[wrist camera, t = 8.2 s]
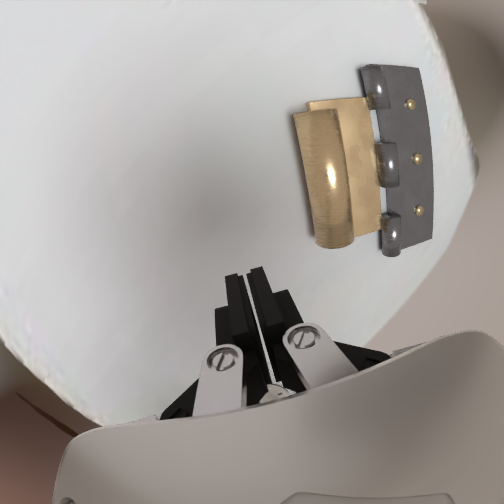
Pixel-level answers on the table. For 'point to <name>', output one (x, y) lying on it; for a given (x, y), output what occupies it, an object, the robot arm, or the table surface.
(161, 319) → the table surface
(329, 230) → the bronze hinge leaf
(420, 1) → the mounting bracket
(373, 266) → the table surface
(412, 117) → the steel hinge leaf
